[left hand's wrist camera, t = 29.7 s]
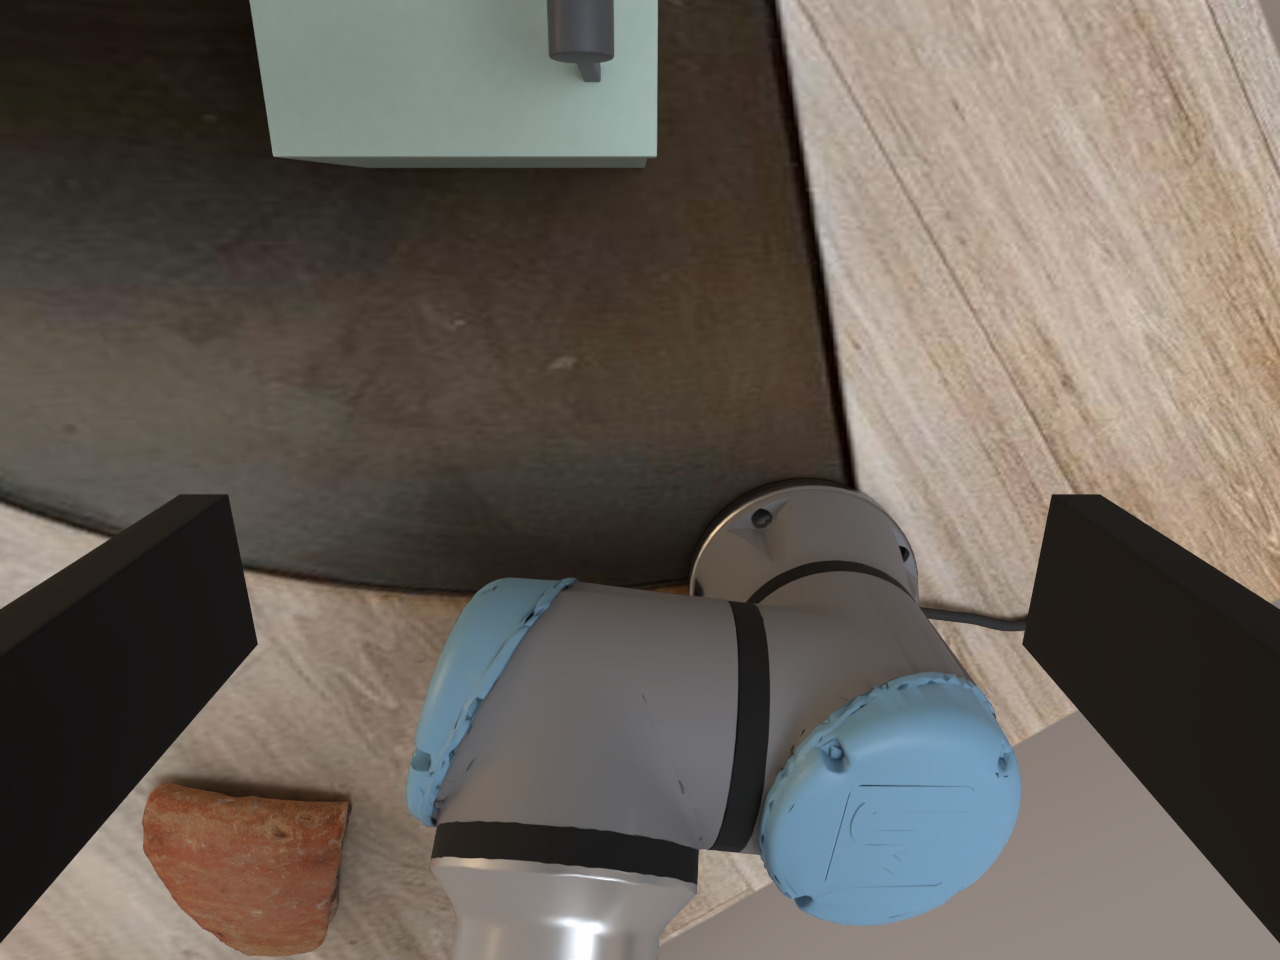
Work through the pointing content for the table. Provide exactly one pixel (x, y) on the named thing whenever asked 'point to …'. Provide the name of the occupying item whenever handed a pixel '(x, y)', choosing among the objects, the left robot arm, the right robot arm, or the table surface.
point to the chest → (485, 162)
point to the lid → (459, 78)
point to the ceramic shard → (249, 865)
